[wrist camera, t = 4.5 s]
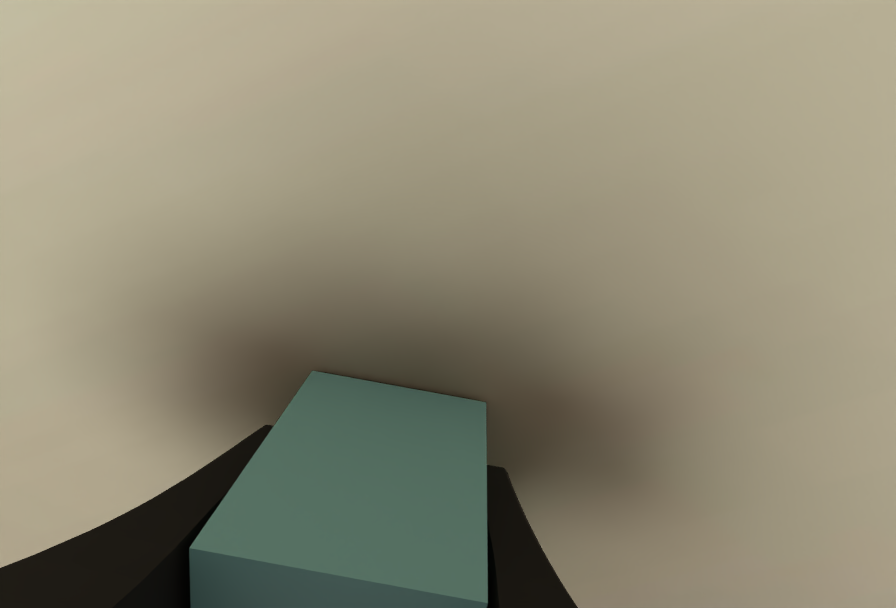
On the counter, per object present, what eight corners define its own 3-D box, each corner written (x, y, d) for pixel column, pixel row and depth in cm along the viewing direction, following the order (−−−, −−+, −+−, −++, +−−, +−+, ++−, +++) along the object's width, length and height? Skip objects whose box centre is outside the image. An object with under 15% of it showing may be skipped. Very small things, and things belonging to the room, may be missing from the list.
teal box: (486, 402, 12) (488, 611, 7) (452, 552, 14) (433, 810, 9) (312, 371, 12) (184, 554, 7) (299, 524, 14) (190, 764, 9)
